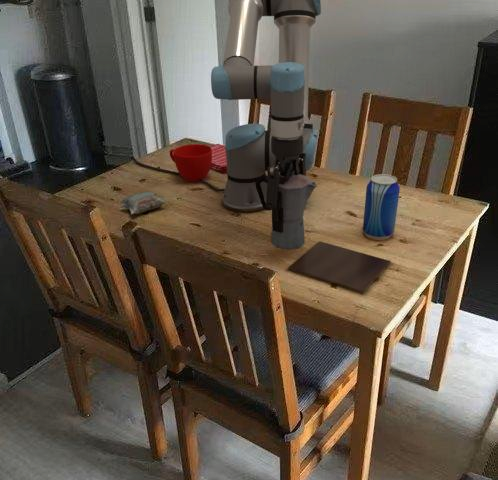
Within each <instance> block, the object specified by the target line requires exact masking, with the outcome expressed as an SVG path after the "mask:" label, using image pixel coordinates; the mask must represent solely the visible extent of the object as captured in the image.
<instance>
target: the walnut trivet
mask: <svg viewBox="0 0 498 480" xmlns="http://www.w3.org/2000/svg"><path fill="white" fill-rule="evenodd" d="M390 264H391V260H388V259H384V258H381V257H377V256H374V255H371V254H366V253H364V252H360V251H356V250H352V249H350V248H345V247H342V246H338V245H334V244H331V243H328V242H325V241H318V242H316V244H314V245H313V246H312V247H310V249H308V250H307V251H306V252H304V254H302V255H301V256H300V257H298V258H297V259H296V260H295V261H294V262H293V263H292V264H291V265H289V266H288V268H287V269H288V271H289V272H293V273H295V274H299V275H302V276H306V277H309V278H312V279H315V280H318V281H321V282H325V283H327V284H330V285H334V286H337V287H340V288H343V289H346V290H350V291H352V292H356V293H359V294H362V295H363V294H364V293H365V292H366V291H367V290H368V288H369V287H370V286H371V285H372V284H373V283H374V282H375V281H376V280H377V279H378V278H379V277H380V276H381V275H382V273H384V271H386V269H387V268H388V267H389V266H390Z"/></svg>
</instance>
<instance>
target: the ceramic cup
mask: <svg viewBox="0 0 498 480" xmlns="http://www.w3.org/2000/svg"><path fill="white" fill-rule="evenodd" d="M169 156H170V159H171V160H172V162H173V163H174V164H175V166H176V170H177V172H178V173H180V174H181V175H180V176H181V177H182V178H183V179H184V180H185V181H187V182H189V183H199V182H200V181H199V180H200V179H201V180H204V181H205V178H206V177H207V176H208V174H209V173H210V171H211V169H212V168H211V164H212V149H211V147H210V146H209V145H206V144H200V143H190V144H184V145H181V146H178V147H176V148H172V149H170V151H169Z"/></svg>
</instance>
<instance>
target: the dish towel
mask: <svg viewBox="0 0 498 480" xmlns="http://www.w3.org/2000/svg"><path fill="white" fill-rule="evenodd" d="M209 147H211V149H212V164H211V168H210V169H212V170H214V171H217V172H219V173H221V174H225V173H226V174H227V162H226V150H225V145H223V144H221V143H216V144H213V145H210V146H209Z"/></svg>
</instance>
